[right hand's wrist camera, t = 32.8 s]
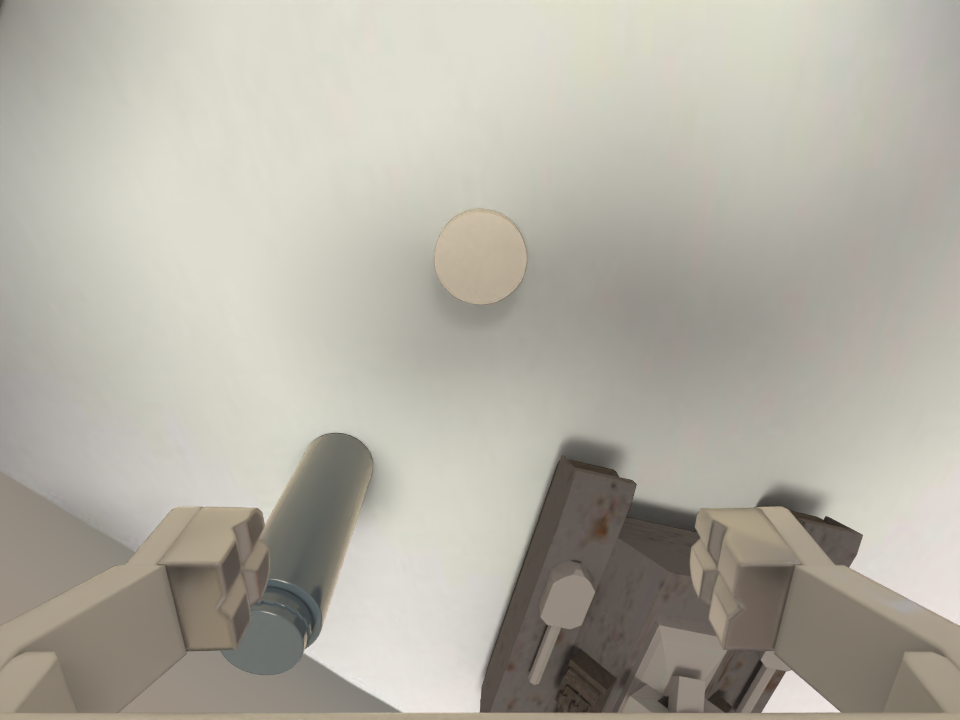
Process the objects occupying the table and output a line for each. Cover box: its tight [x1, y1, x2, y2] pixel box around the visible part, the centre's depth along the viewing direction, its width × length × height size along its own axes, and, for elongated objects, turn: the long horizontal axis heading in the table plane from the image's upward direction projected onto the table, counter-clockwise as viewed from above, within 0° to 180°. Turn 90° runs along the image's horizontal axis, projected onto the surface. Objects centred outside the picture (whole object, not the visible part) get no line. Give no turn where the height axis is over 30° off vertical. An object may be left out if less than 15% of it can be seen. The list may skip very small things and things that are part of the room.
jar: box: [220, 433, 373, 675], centre depth 34 cm, size 5×5×16 cm
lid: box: [434, 209, 527, 305], centre depth 35 cm, size 6×6×2 cm
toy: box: [480, 456, 863, 713], centre depth 39 cm, size 25×20×15 cm
